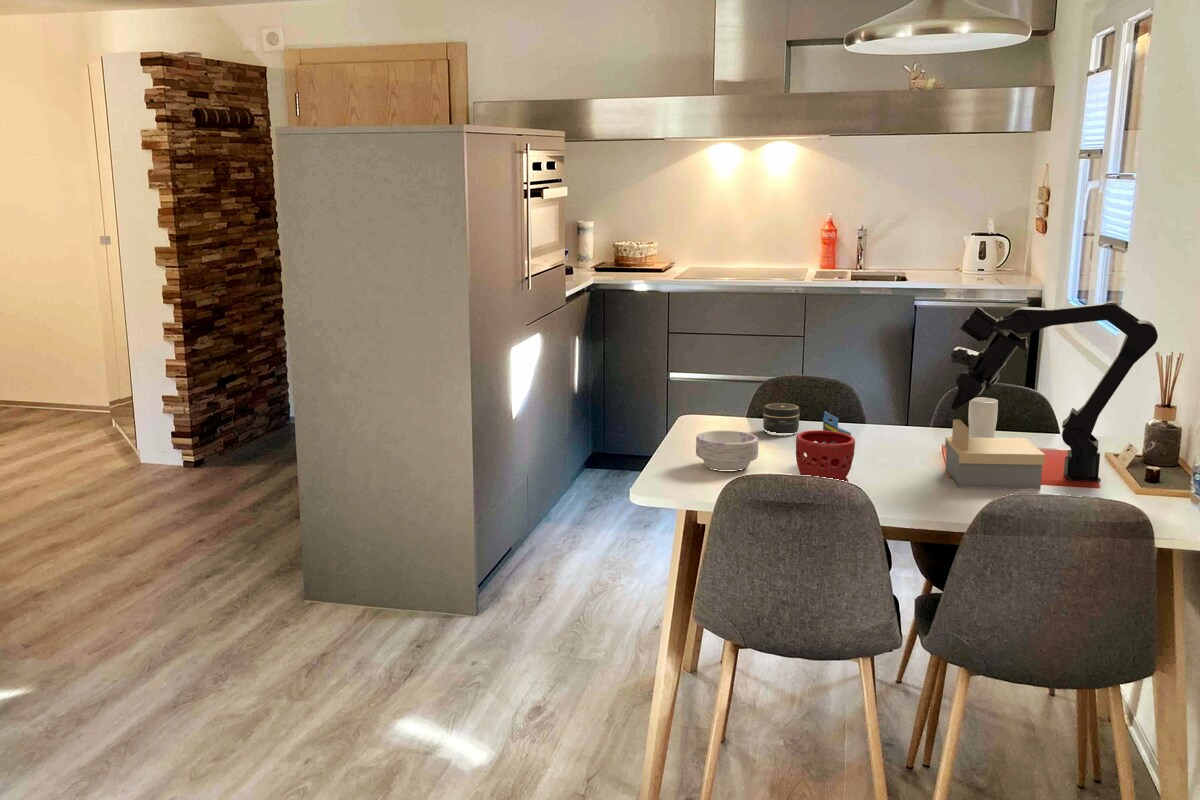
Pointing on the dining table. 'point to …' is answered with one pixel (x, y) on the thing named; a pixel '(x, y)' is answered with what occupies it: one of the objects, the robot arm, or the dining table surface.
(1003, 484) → the box
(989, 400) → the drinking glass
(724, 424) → the dining table surface
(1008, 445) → the lid
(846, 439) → the plant pot
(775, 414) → the jar
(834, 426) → the label tape box
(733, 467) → the paper bowls
